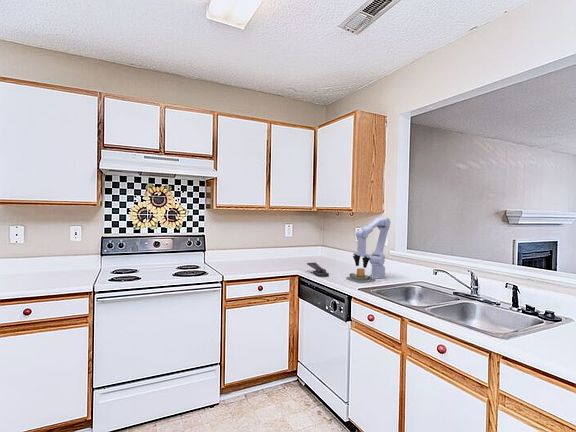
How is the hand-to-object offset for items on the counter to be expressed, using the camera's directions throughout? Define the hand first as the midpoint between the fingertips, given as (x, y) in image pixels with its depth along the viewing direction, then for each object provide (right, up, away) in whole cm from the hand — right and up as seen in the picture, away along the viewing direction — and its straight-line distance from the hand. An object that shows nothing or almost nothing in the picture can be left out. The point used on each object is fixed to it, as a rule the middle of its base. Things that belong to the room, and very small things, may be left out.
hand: (361, 266), depth 229 cm
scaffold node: (-1, -9, +1) cm, 10 cm away
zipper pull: (-28, -9, +20) cm, 36 cm away
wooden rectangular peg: (0, -9, 0) cm, 9 cm away
